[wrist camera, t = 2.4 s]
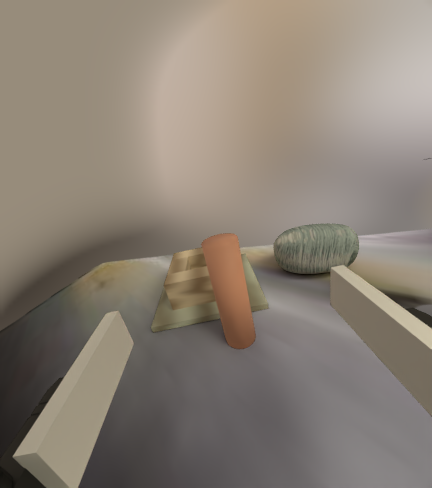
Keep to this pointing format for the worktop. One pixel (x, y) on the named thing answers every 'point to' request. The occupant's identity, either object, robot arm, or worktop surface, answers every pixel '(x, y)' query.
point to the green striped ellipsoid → (316, 248)
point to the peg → (230, 288)
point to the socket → (196, 292)
